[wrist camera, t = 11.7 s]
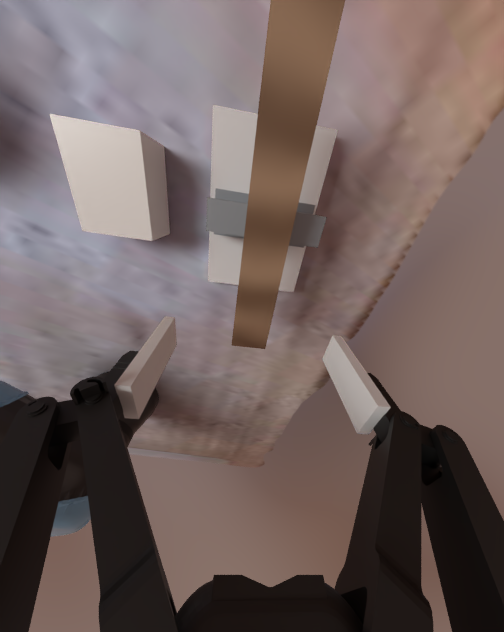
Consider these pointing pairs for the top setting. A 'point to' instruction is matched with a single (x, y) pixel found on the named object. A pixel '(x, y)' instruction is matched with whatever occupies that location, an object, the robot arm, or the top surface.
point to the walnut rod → (281, 152)
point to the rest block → (114, 178)
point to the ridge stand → (233, 191)
